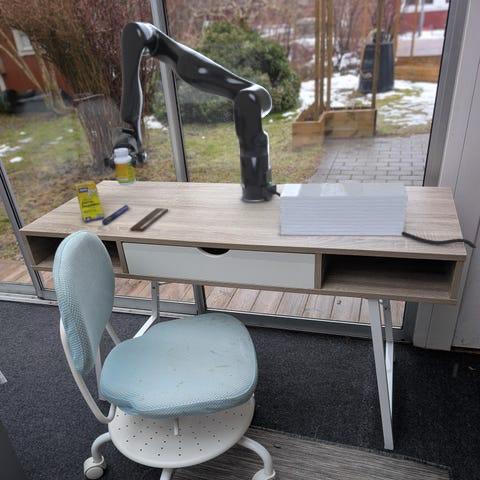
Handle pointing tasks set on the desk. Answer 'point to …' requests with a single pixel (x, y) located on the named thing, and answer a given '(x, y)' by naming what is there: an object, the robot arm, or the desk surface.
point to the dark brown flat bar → (149, 219)
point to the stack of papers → (343, 209)
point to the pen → (115, 215)
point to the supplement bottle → (124, 167)
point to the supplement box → (89, 201)
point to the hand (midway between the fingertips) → (123, 164)
